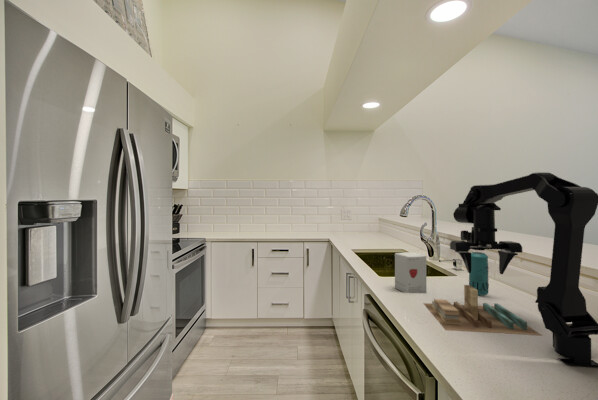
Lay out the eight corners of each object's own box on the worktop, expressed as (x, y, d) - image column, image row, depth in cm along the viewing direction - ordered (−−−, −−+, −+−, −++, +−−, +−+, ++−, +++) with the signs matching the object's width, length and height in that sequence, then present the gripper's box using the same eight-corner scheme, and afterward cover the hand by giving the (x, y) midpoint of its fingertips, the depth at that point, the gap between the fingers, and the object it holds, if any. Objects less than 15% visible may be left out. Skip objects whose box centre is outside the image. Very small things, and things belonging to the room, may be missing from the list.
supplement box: (407, 295, 107) (407, 256, 107) (394, 288, 115) (393, 252, 115) (427, 293, 109) (427, 255, 109) (413, 286, 117) (412, 251, 118)
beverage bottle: (469, 297, 103) (468, 244, 103) (468, 292, 109) (467, 242, 109) (490, 300, 100) (489, 245, 100) (487, 294, 106) (487, 243, 106)
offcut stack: (460, 324, 79) (460, 312, 79) (445, 323, 79) (445, 311, 79) (444, 308, 90) (444, 297, 90) (431, 307, 91) (431, 297, 91)
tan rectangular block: (478, 320, 81) (477, 290, 81) (472, 320, 81) (471, 290, 81) (469, 313, 86) (469, 285, 86) (464, 313, 86) (464, 284, 86)
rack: (542, 339, 72) (542, 327, 72) (445, 333, 75) (445, 322, 75) (498, 309, 92) (498, 300, 92) (423, 306, 95) (423, 297, 95)
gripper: (502, 222, 94) (503, 268, 93) (443, 222, 97) (444, 267, 97) (522, 225, 83) (524, 277, 82) (456, 225, 86) (457, 274, 86)
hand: (485, 273), depth 87 cm, fingers open, 9 cm apart
